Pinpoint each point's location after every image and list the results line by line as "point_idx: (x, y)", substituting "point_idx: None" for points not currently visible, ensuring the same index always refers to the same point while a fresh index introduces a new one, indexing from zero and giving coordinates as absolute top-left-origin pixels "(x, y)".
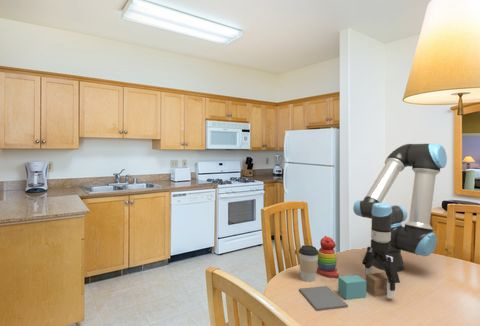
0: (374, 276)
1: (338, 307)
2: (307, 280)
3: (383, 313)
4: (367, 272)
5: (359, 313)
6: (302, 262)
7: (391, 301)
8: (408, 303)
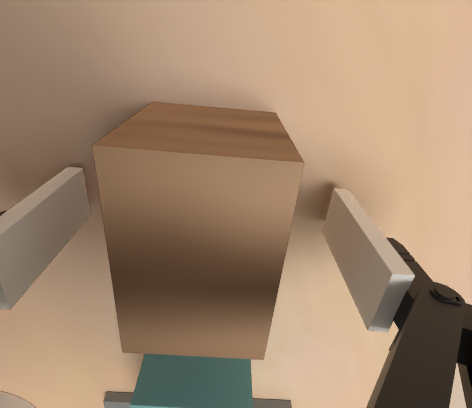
0: (190, 320)
1: None
2: None
3: None
4: (36, 270)
5: (347, 391)
6: None
7: None
8: (426, 110)
